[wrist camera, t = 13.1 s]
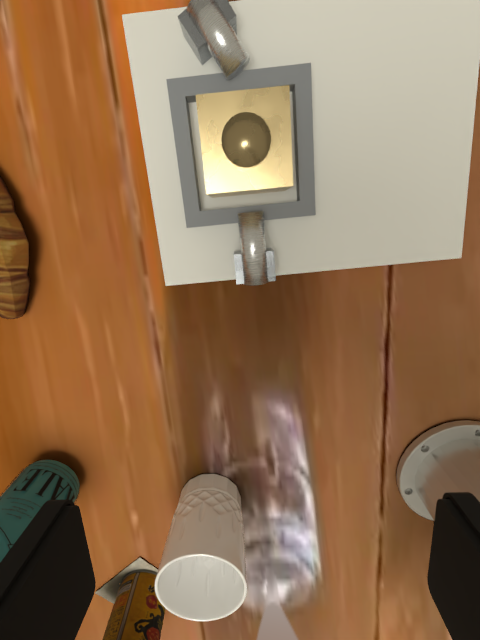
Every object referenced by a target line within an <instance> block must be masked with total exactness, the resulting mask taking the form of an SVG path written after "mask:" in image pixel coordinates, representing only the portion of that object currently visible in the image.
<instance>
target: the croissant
mask: <svg viewBox="0 0 480 640" xmlns="http://www.w3.org/2000/svg"><path fill="white" fill-rule="evenodd" d="M28 265H29V242H28V239H27V237H26V234H25V231H24V229H23V226H22V224H21V222H20V220H19V218H18V216H17V215H16V213H15V205H14V201H13V199H12V197H11V195H10V193H9V191H8V189H7V187H6V185H5V183H4V181H3V179H2V178H1V176H0V317H2V318H6V319H15V318H19V317H22V316H23V315H24V314H25V311H26V307H27V303H28V299H29V290H30V277H29V274H28Z"/></svg>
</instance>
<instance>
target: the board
mask: <svg viewBox="0 0 480 640" xmlns="http://www.w3.org/2000/svg"><path fill="white" fill-rule="evenodd" d="M229 4H230V5H231V7H232V9H233V10H234V12H235V14H236V21H237V37H238V38H239V40H240V42H241V43H242V45H243V47H244V48H245V50H246V52H247V53H248V55H249V57H250V61H249V63H248V64H247V66H246V67H245V68H244V69H243V70H242V71H241V72H240V73H239V74H238V75H237V76H235V77H234V78H232V79H230V80H227V79H226V77H225V75H224V74H223V72H222V71H221V69H220V67H219V66H218V64H217V63H216V61H215V59H214V58H213V57H212V58H210V59H209V60H208V61H207V62H206V63H205V64H203V65H202V64H201V63H200V61H199V60H198V58H197V57H196V55H195V53H194V52H193V50H192V49H191V47H190V46H189V44H188V42H187V41H186V39H185V38H184V35H183V32H182V29H181V26H180V23H179V20H178V16H179V15H180V14H181V13H182V12H183V11H184V10H185V9H186V8H187V7H182V8H173V9H165V10H157V11H149V12H140V13H132V14H124V15H122V18H123V25H124V31H125V37H126V43H127V49H128V56H129V62H130V68H131V74H132V80H133V86H134V93H135V99H136V105H137V111H138V117H139V124H140V130H141V136H142V142H143V148H144V155H145V161H146V167H147V173H148V179H149V185H150V192H151V198H152V204H153V210H154V216H155V223H156V229H157V235H158V241H159V247H160V253H161V260H162V266H163V272H164V278H165V284H166V286H170V285H180V284H191V283H202V282H212V281H223V280H233V279H236V274H235V264H234V251H241V247H240V236H239V226H238V215H237V214H239V213H249V212H259V211H263V214H264V228H265V242H266V248H272V249H273V250H274V259H275V274H276V275H286V274H297V273H307V272H318V271H329V270H339V269H350V268H360V267H371V266H382V265H392V264H403V263H413V262H424V261H434V260H445V259H456V258H462V247H463V236H464V225H465V214H466V203H467V192H468V181H469V171H470V160H471V149H472V138H473V127H474V116H475V105H476V94H477V84H478V73H479V62H480V0H240V1H231V2H229ZM285 85H289V88H290V113H291V138H292V163H293V187H291V188H289V189H287V190H286V191H279V192H269V193H258V194H248V195H237V196H226V197H216V198H212V197H210V196H208V195H207V194H206V186H205V177H204V168H203V159H202V150H201V141H200V132H199V123H198V114H197V105H196V95H198V94H207V93H217V92H227V91H236V90H246V89H256V88H266V87H275V86H285Z"/></svg>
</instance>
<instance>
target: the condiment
mask: <svg viewBox="0 0 480 640" xmlns="http://www.w3.org/2000/svg"><path fill="white" fill-rule="evenodd" d="M157 572H158V569H156V568H155V567H154V566H152V565H149V564H148V563H147V562H146V561H144V560H143V559H142V558H139V559H137V560H136V561H135V562H133V563H132V564H130V565H129V566H128V567H126V568H125V569H124V570H123V571H122V572H120V573H119V574H118V575H117V576H115V577H114V578H113V579H112V580H110V581H109V582H108V583H106V584H105V585H104V586H103V587H102V588H101V589H100V590H98V591H97V592H95V593H96V594H98V595H99V596H102V597H103V598H105V599H107V600H108V601H110V602H112V603H114V606H113V609H112V612H111V615H110V618H109V621H108V624H107V627H106V630H105V634H104V637H103V640H160V634H161V629H162V625H163V619H164V614H165V607H164V606H163V605H162V604H161V603H160V602H159V600H158V598H157V596H156V593H155V579H156V576H157ZM119 583H120V584H119Z"/></svg>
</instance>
